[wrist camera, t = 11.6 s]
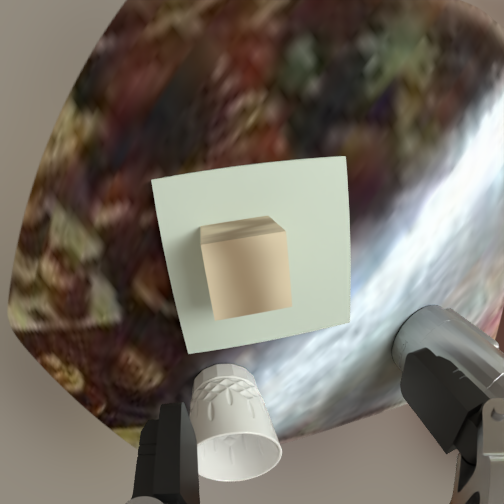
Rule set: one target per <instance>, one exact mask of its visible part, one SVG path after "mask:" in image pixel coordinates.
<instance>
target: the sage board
mask: <svg viewBox="0 0 504 504" xmlns="http://www.w3.org/2000/svg"><path fill="white" fill-rule="evenodd" d="M151 182H152V188H153V194H154V200H155V206H156V212H157V218H158V223H159V228H160V234H161V239H162V244H163V249H164V254H165V259H166V264H167V268H168V273H169V277H170V282H171V286H172V291H173V295H174V299H175V304H176V308H177V312H178V316H179V320H180V324H181V328H182V332H183V336H184V339H185V343H186V347H187V351H188V354H192V353H199V352H205V351H212V350H218V349H224V348H230V347H236V346H242V345H247V344H253V343H258V342H264V341H269V340H274V339H279V338H284V337H288V336H293V335H298V334H302V333H307V332H311V331H316V330H320V329H324V328H329V327H333V326H337V325H341V324H345V323H349V322H350V221H349V199H348V182H347V168H346V156H335V157H321V158H308V159H297V160H286V161H276V162H267V163H258V164H250V165H242V166H234V167H226V168H219V169H212V170H206V171H199V172H193V173H186V174H180V175H174V176H169V177H163V178H158V179H153V180H151ZM262 216H269V217H270V218H272V219H273V220H274V221H275V222H276V223H277V224H278V225H280V226H281V227H282V228H283V229H284V230H285V231H286V237H287V248H288V259H289V271H290V283H291V296H292V307H288V308H283V309H278V310H272V311H267V312H262V313H257V314H251V315H246V316H240V317H234V318H229V319H223V320H217V321H215V319H214V314H213V309H212V304H211V299H210V293H209V288H208V283H207V277H206V272H205V267H204V261H203V255H202V250H201V232H200V226H204V225H210V224H217V223H223V222H229V221H235V220H242V219H248V218H255V217H262Z"/></svg>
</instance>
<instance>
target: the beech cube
mask: <svg viewBox="0 0 504 504" xmlns="http://www.w3.org/2000/svg"><path fill="white" fill-rule="evenodd" d="M200 232H201V250H202V255H203V261H204V267H205V272H206V277H207V283H208V288H209V293H210V299H211V304H212V309H213V314H214V319H215V321H217V320H223V319H229V318H234V317H240V316H246V315H251V314H257V313H262V312H267V311H272V310H278V309H283V308H288V307H292V296H291V283H290V271H289V259H288V248H287V237H286V231H285V230H284V229H283V228H282V227H281V226H280V225H278V224H277V223H276V222H275V221H274V220H273V219H272V218H270V217H269V216H262V217H255V218H248V219H242V220H235V221H229V222H223V223H217V224H210V225H204V226H200Z"/></svg>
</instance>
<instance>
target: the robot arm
mask: <svg viewBox="0 0 504 504" xmlns="http://www.w3.org/2000/svg"><path fill="white" fill-rule="evenodd" d="M392 357H393V361H394V362H395V364H396V365H397V366H398V367H399V369H400V370H401V371H402V372H403V374H402V379H401V384H400V388H401V393H402V395H403V397H404V399H405V400H406V401H407V403H408V404H409V405H410V407H411V408H412V409H413V410H414V412H415V413H416V414H417V416H418V417H419V418H420V419H421V421H422V422H423V424H424V425H425V426H426V428H427V429H428V430H429V431H430V433H431V434H432V435H433V437H434V438H435V439H436V441H437V442H438V443H439V445H440V446H441V447H442V449H443V450H444V452H445V453H446V454H448V453H450V452H451V451H453V450H455V449H458V450H459V454H458V456H457V464H456V473H455V481H454V488H453V495H452V498H451V501H450V503H449V504H504V353H503V352H501V351H500V350H499V345H498V343H497V342H496V341H495V340H494V339H492V338H491V337H490V336H488V335H487V334H486V333H484V332H483V331H482V330H480V329H479V328H478V327H476V326H475V325H473V324H472V323H471V322H469V321H468V320H466V319H465V318H464V317H462V316H461V315H459V314H458V313H457V312H455V311H454V310H452V309H451V308H450V309H447V310H445V309H444V308H442V307H441V306H437V305H430V306H427V307H424V308H422V309H421V310H419V311H417V312H416V313H415V314H413V315H412V316H411V317H410V318H409V319H408V320H407V321H406V322H405V324H404V325H403V326H402V327H401V329H400V331H399V332H398V334H397V336H396V338H395V341H394V344H393V348H392ZM139 445H140V446H139V449H138V457H137V464H136V472H135V481H134V490H133V495H132V498H131V500H130V501H128V502H127V503H126V504H200V498H199V479H198V455H197V441H196V435H195V431H194V428H193V426H192V423H191V420H190V418H189V415H188V412H187V409H186V407H185V404H184V403H183V402H182V403H171V404H162V405H161V407H160V415H159V419H158V420H148V422H147V423H146V425H145V426H144V428H143V429H142V431H141V435H140V442H139Z"/></svg>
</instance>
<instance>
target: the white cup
mask: <svg viewBox="0 0 504 504" xmlns="http://www.w3.org/2000/svg"><path fill="white" fill-rule="evenodd" d="M190 420H191V423H192V426H193V428H194V431H195V435H196V441H197V455H198V474H199V475H200V476H202V477H205V478H208V479H211V480H215V481H223V482H234V481H235V482H236V481H244V480H248V479H252V478H255V477H258V476H260V475H263V474H265V473H266V472H268V471H270V470H271V469H272V468H274V467H275V466H276V465H277V464H278V462H279V461H280V459H281V456H282V448H281V445H280V443H279V440H278V438H277V435H276V432H275V429H274V427H273V424H272V421H271V418H270V415H269V413H268V411H267V408H266V406H265V403H264V401H263V398H262V396H261V394H260V393H259V390H258V388H257V385H256V382H255V379H254V376H253V375H252V374H251V373H250V372H249V371H247V370H246V369H245V368H244V367H240V366H237V365H234V364H216V365H213V366H211V367H208V368H206V369H204V370H202V371H201V373H200V374H199V375H198V376H197V377H196V378H195V379H194V384H193V388H192V400H191V404H190Z"/></svg>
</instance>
